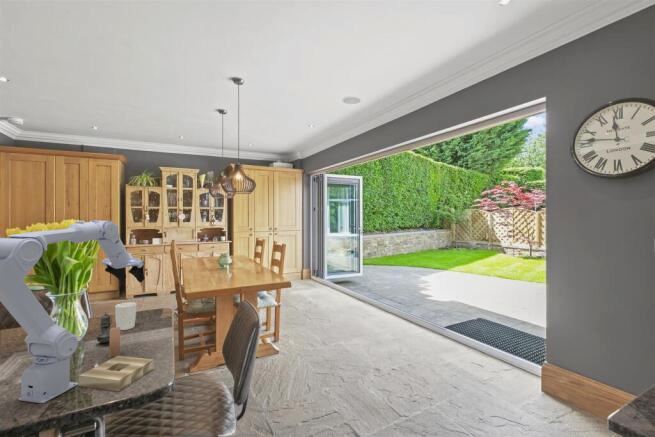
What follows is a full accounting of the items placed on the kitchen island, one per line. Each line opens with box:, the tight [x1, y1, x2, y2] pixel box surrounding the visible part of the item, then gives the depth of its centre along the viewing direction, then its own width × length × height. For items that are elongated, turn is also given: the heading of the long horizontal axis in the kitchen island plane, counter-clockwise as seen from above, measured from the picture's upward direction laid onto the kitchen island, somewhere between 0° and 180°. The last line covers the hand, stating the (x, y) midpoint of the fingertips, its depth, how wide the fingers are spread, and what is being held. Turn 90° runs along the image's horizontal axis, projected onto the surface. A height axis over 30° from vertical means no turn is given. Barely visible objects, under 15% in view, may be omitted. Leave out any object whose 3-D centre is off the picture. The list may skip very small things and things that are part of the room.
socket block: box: [78, 355, 154, 392], centre depth 93 cm, size 13×13×3 cm
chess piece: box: [95, 312, 112, 348], centre depth 117 cm, size 6×6×12 cm
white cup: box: [114, 301, 138, 331], centre depth 135 cm, size 8×8×10 cm
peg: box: [108, 326, 121, 359], centre depth 107 cm, size 3×3×10 cm
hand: (132, 279), depth 112 cm, fingers open, 7 cm apart
